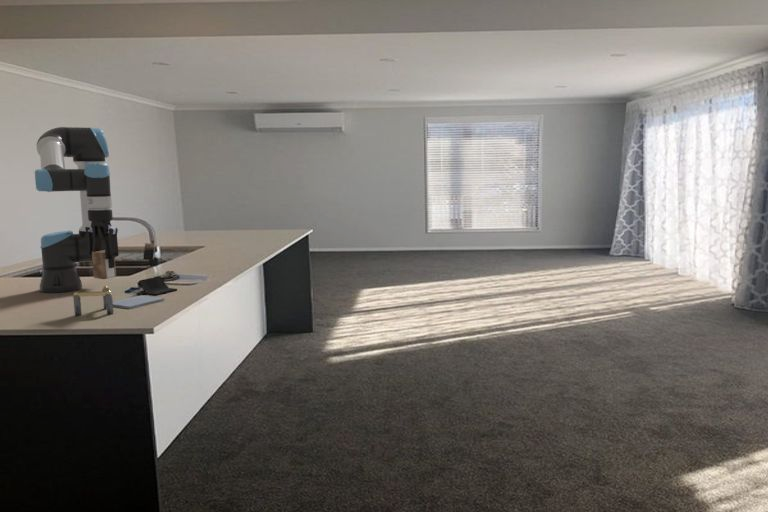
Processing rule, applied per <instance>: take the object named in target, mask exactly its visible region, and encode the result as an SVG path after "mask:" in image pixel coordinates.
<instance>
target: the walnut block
mask: <svg viewBox="0 0 768 512" xmlns="http://www.w3.org/2000/svg"><path fill="white" fill-rule="evenodd" d="M105 258H106V253H105V250H103V251H96V252H92V260H93V261H92V269H93V270H92V272H93V278H94V279H99V280H107V279H109V278H106V265H105ZM114 265H115V267H114V274H115V277H111V278H110V279H112V278H116V277H117V268H116V257H115V258H114Z"/></svg>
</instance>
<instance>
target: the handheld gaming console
mask: <svg viewBox="0 0 768 512" xmlns="http://www.w3.org/2000/svg"><path fill="white" fill-rule="evenodd" d="M157 276H158V275H157ZM138 283H139V285H140V287H141V288H142V290H143V292H144V296H152V297H158V296H161V295H165V294H169V293H174V292H178V288H173V287H168V286H167V285H166V282H164V281H163V279H162V278H161V276H158V277H155V276H153V277H149V278H144V279H140V280H139V281H138Z"/></svg>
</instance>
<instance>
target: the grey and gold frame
mask: <svg viewBox="0 0 768 512" xmlns="http://www.w3.org/2000/svg"><path fill="white" fill-rule="evenodd" d="M72 297H73V309H74V316H75V317H79V316H82V303H81V301H82V300H81V297H102V301H103V303H102V304H103V310H106V315H107V316H108V315H113V314H114V306H113V302H114V301H113V293H112V291H111V290H110V288H109V287H108V285H105V286H103V287H102V291H85V292H83V291H75V292H74V293H73V295H72Z"/></svg>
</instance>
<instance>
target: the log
mask: <svg viewBox="0 0 768 512" xmlns="http://www.w3.org/2000/svg"><path fill="white" fill-rule="evenodd" d="M158 276H161V278H162V279H163V281H164V283H166V282H173V281H178V280H179V279H180V274H178V273H176V272H175V271H174V270H166V271H165V273H164V274H160V275H156V276H154V277H158Z"/></svg>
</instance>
